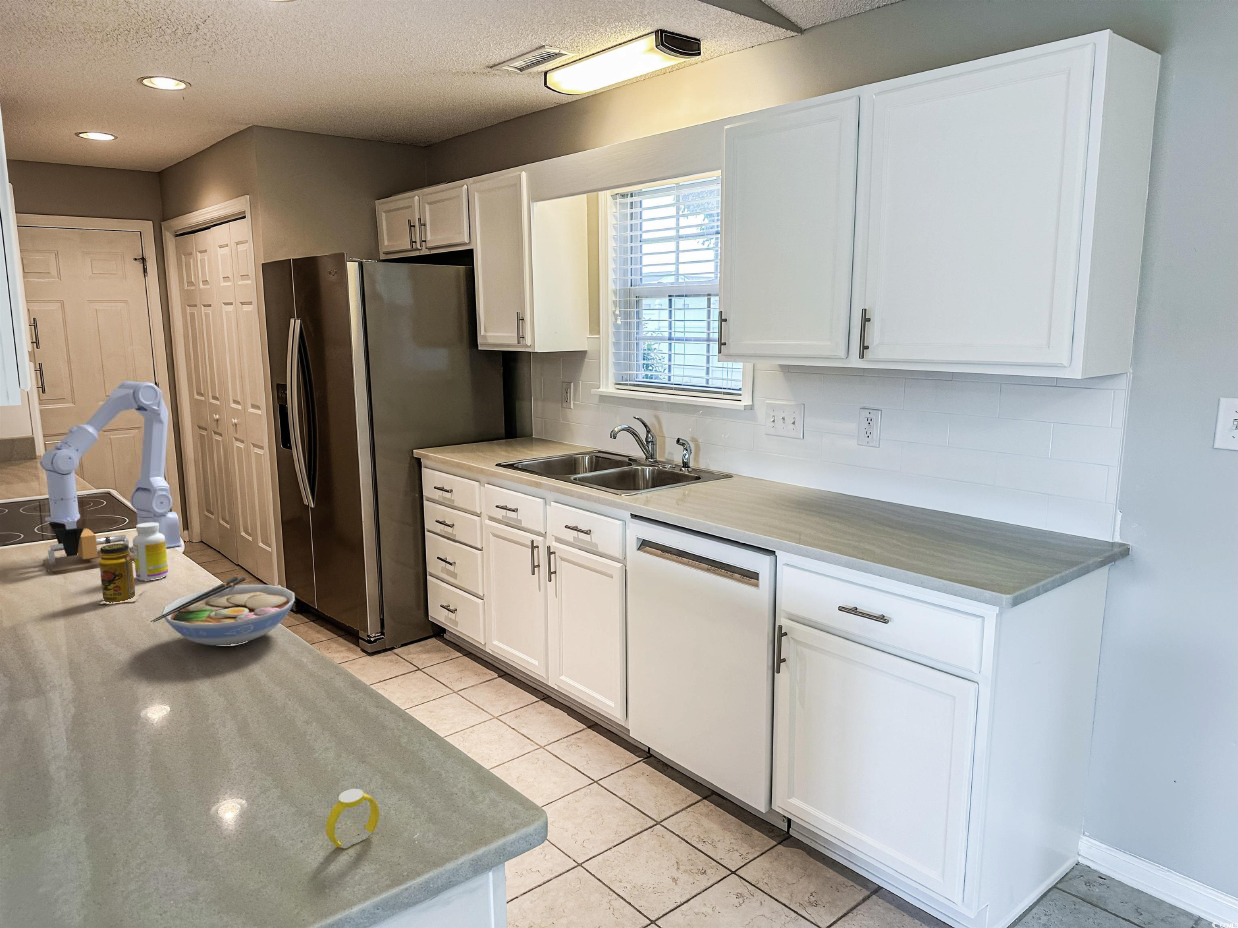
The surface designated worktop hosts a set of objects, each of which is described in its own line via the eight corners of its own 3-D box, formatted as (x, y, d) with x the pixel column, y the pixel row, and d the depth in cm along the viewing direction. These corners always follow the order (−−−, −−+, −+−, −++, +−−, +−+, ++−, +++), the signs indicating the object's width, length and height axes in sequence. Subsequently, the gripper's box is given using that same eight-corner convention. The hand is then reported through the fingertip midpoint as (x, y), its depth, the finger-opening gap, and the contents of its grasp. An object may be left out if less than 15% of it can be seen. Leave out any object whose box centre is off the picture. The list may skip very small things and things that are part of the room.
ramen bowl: (245, 671, 144) (242, 626, 143) (130, 660, 148) (126, 616, 147) (324, 622, 168) (321, 582, 167) (223, 613, 173) (220, 575, 171)
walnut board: (125, 550, 220) (125, 547, 219) (138, 561, 210) (137, 557, 210) (43, 563, 208) (42, 559, 207) (52, 575, 198) (52, 571, 198)
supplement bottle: (174, 574, 200) (170, 521, 198) (156, 582, 193) (152, 528, 191) (148, 573, 200) (143, 520, 198) (129, 581, 194) (124, 527, 192)
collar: (89, 549, 212) (87, 528, 211) (97, 557, 206) (95, 534, 205) (75, 551, 210) (73, 530, 209) (83, 559, 204) (81, 536, 203)
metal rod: (128, 551, 215) (126, 533, 214) (129, 553, 214) (128, 534, 213) (49, 564, 204) (47, 544, 203) (50, 565, 202) (48, 545, 202)
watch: (337, 860, 94) (331, 813, 93) (325, 849, 96) (319, 803, 95) (384, 833, 98) (379, 788, 97) (372, 823, 100) (366, 779, 99)
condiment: (96, 606, 177) (91, 551, 175) (107, 593, 185) (102, 541, 183) (135, 602, 179) (130, 548, 177) (144, 591, 187) (140, 538, 185)
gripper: (38, 495, 206) (44, 549, 208) (48, 505, 195) (54, 561, 197) (71, 492, 210) (77, 544, 213) (83, 501, 200) (89, 556, 202)
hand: (68, 552), depth 205 cm, fingers open, 7 cm apart
